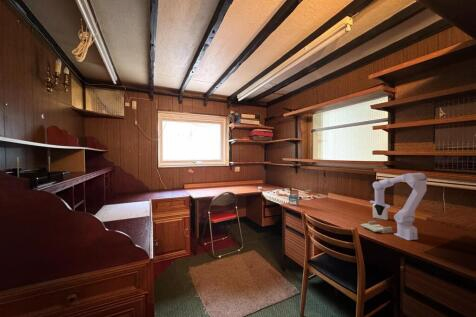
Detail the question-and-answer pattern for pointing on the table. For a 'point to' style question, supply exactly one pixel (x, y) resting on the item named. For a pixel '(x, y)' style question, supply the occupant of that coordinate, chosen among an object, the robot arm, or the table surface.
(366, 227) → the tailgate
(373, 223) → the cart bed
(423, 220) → the table surface
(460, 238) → the table surface
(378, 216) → the photo printer
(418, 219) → the table surface
